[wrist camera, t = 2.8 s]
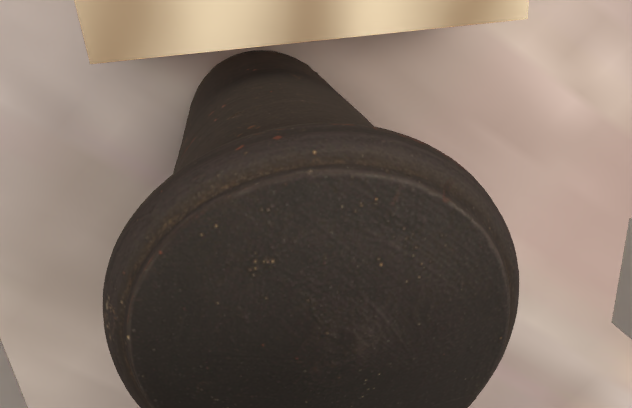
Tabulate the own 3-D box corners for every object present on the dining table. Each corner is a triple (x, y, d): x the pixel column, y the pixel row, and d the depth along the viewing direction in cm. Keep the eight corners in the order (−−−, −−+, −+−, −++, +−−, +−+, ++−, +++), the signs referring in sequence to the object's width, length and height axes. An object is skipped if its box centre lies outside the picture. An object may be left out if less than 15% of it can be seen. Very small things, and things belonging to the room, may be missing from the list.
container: (276, 228, 30) (351, 568, 12) (149, 135, 27) (-12, 405, 9) (373, 120, 29) (628, 317, 11) (251, 8, 26) (313, 11, 7)
